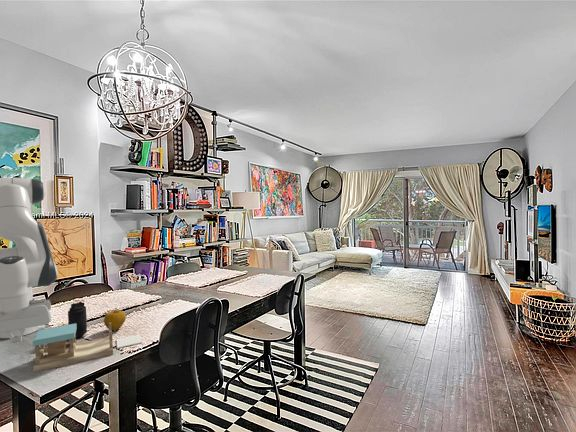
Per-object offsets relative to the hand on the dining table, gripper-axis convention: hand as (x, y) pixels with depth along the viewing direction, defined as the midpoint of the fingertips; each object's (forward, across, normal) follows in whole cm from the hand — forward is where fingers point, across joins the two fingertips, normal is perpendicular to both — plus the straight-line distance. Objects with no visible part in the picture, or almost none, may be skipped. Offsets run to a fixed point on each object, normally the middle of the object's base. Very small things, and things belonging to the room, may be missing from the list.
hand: (16, 341), depth 113 cm
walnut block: (+8, -11, 0) cm, 14 cm away
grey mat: (+10, -35, -2) cm, 37 cm away
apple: (+10, -31, -20) cm, 38 cm away
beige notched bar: (+10, -17, 0) cm, 19 cm away
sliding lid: (+1, -11, 0) cm, 11 cm away
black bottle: (+10, -17, -21) cm, 29 cm away
